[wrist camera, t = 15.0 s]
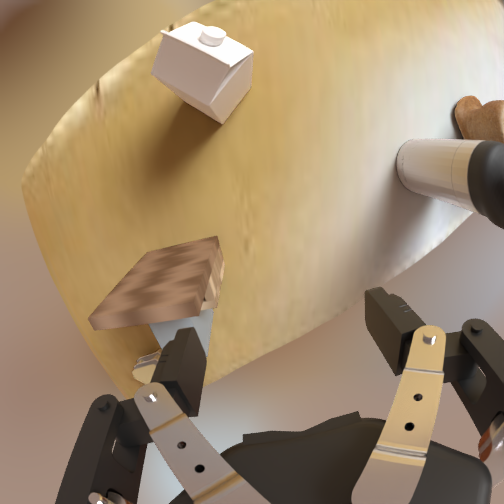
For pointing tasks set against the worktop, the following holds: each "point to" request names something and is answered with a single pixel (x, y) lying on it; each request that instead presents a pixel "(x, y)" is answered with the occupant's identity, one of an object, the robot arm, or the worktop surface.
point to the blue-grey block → (200, 323)
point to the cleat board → (165, 286)
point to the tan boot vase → (480, 119)
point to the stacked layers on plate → (146, 367)
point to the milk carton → (204, 68)
